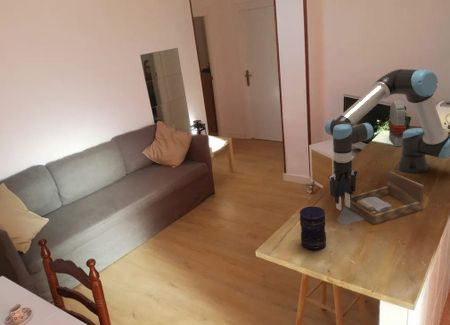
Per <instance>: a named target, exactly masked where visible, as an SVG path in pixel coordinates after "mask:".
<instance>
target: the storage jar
mask: <svg viewBox="0 0 450 325" xmlns="http://www.w3.org/2000/svg"><path fill="white" fill-rule="evenodd" d="M299 224H300V229H301V232H300V240H301V246H302V248H303V249H305V250H307V251H310V252H319V251H323V250H324V249H325V248H326V247H327V242H326V241H327V235H326V211H325V210H324V208H321V207H319V206H306V207H304V208H303V207H302V208H301V210H300V211H299Z"/></svg>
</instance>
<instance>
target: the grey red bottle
mask: <svg viewBox="0 0 450 325" xmlns="http://www.w3.org/2000/svg"><path fill="white" fill-rule="evenodd" d="M405 110H406V109H405V104H404V101H403V100H402V99H399V100H398V99H397V100H396V99H395V100H392V101H391V103H390V109H389V119H388V128H389V130H388V132H389V133H388V134H389V135H388V138H389V141H390V142H391V143H392V145H394V147H402V138H403V132H404V131H405V130H406V126H405V122H406V121H405V120H406V111H405Z"/></svg>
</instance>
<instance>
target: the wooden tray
mask: <svg viewBox="0 0 450 325" xmlns="http://www.w3.org/2000/svg"><path fill="white" fill-rule="evenodd" d="M386 174H387V176H386V177H387V178H386V179H387V180H386V186H383V187H380V188H375V189H373V190H368V191H366V192H362V193H359V194H353V195H351V200H350V208H349V209H350V210H352V211H353V212H355V213H356V214H358V215H359V216H361V217H362V218H364V219H365V221H367V222H369V223H371V224H372V225H373V226H374V225H377V224H379V223H384V222H387V221H390V220H393V219H396V218H400V217H403V216H406V215H409V214H412V213H417V212H419V211H423V200H424V190H425V189H424V187H425V186H424V184H421V183H419V182H417V181H414V180H412V179H409V178H407V177H405V176H402V175H400V174H398V173H396V172H394V171H391V170H388V171H387V173H386ZM388 195H389V196H391V197H393V198H395V199H397V200H399V202H400V201H401V202H402V203H404V204H405V205H401V206H398V207H395V208H391V210H388V211H384V212H381V213H378V214H375V215H374V214H372V213H371V212H369V211H368V210H366V209H364V208H363V207H361V206H359V205H358V204H357V201H358V200H362V199H365V198H368V197H377V198H381V197H385V196H388ZM343 200H344V206H345V197H344V199H343ZM346 207H347V206H346ZM347 208H348V207H347Z"/></svg>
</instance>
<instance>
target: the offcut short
mask: <svg viewBox="0 0 450 325" xmlns="http://www.w3.org/2000/svg"><path fill="white" fill-rule="evenodd" d="M356 204H358V205H359V206H361V207H363V208H364V209H366V210H368V211H369V212H374V206H372V205H371V204H369V203H368V202H366V201H365V200H363V199H362V200H358V201H357V203H356Z"/></svg>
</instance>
